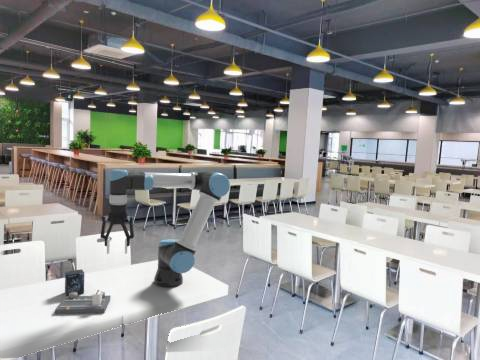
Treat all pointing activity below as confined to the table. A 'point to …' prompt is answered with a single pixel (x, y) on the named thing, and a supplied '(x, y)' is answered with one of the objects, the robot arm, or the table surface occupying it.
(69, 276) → the box
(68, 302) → the console
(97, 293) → the block
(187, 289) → the table surface
